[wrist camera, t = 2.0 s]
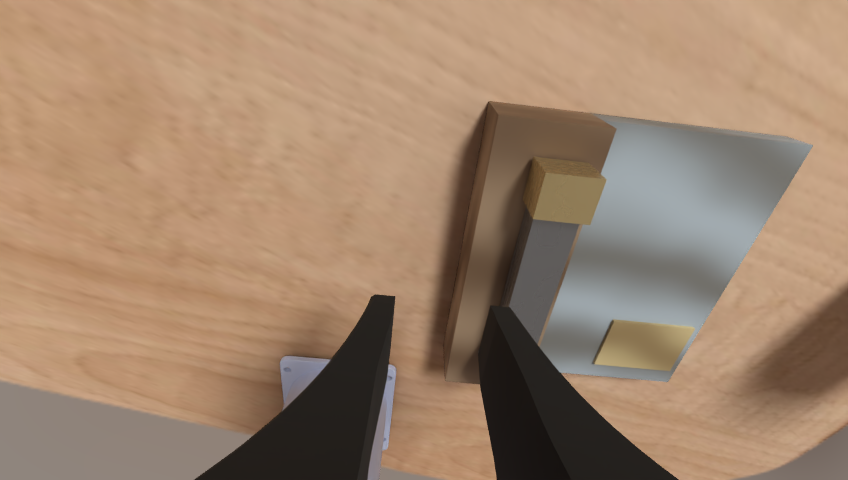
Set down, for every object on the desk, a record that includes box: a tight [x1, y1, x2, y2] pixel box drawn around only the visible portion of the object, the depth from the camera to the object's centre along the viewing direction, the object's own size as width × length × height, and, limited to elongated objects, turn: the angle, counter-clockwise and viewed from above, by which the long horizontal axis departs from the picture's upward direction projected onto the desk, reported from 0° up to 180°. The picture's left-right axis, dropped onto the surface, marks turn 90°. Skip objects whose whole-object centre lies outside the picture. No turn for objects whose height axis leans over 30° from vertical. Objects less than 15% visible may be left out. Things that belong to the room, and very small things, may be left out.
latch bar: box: [478, 157, 607, 352], centre depth 19 cm, size 13×3×2 cm, turn 173°
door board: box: [443, 101, 813, 384], centre depth 22 cm, size 16×15×3 cm
